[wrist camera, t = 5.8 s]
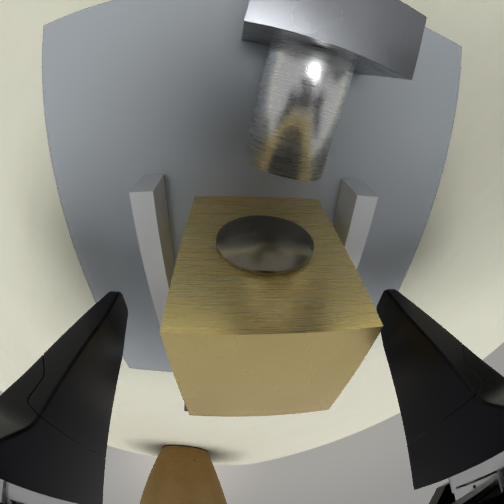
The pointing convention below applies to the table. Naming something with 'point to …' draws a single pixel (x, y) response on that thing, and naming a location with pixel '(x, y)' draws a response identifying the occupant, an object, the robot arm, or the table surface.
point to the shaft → (319, 72)
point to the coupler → (264, 309)
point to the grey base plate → (221, 147)
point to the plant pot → (183, 478)
